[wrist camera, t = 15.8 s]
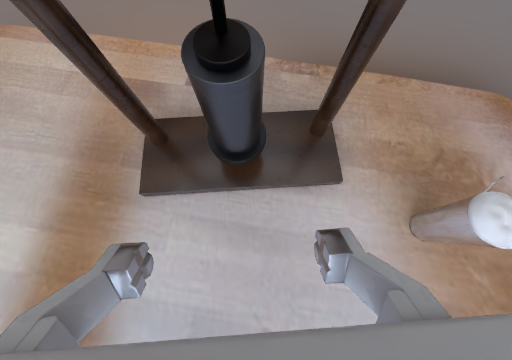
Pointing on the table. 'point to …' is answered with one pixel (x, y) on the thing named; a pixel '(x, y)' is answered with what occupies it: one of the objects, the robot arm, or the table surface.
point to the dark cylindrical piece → (228, 84)
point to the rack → (196, 128)
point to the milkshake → (469, 221)
